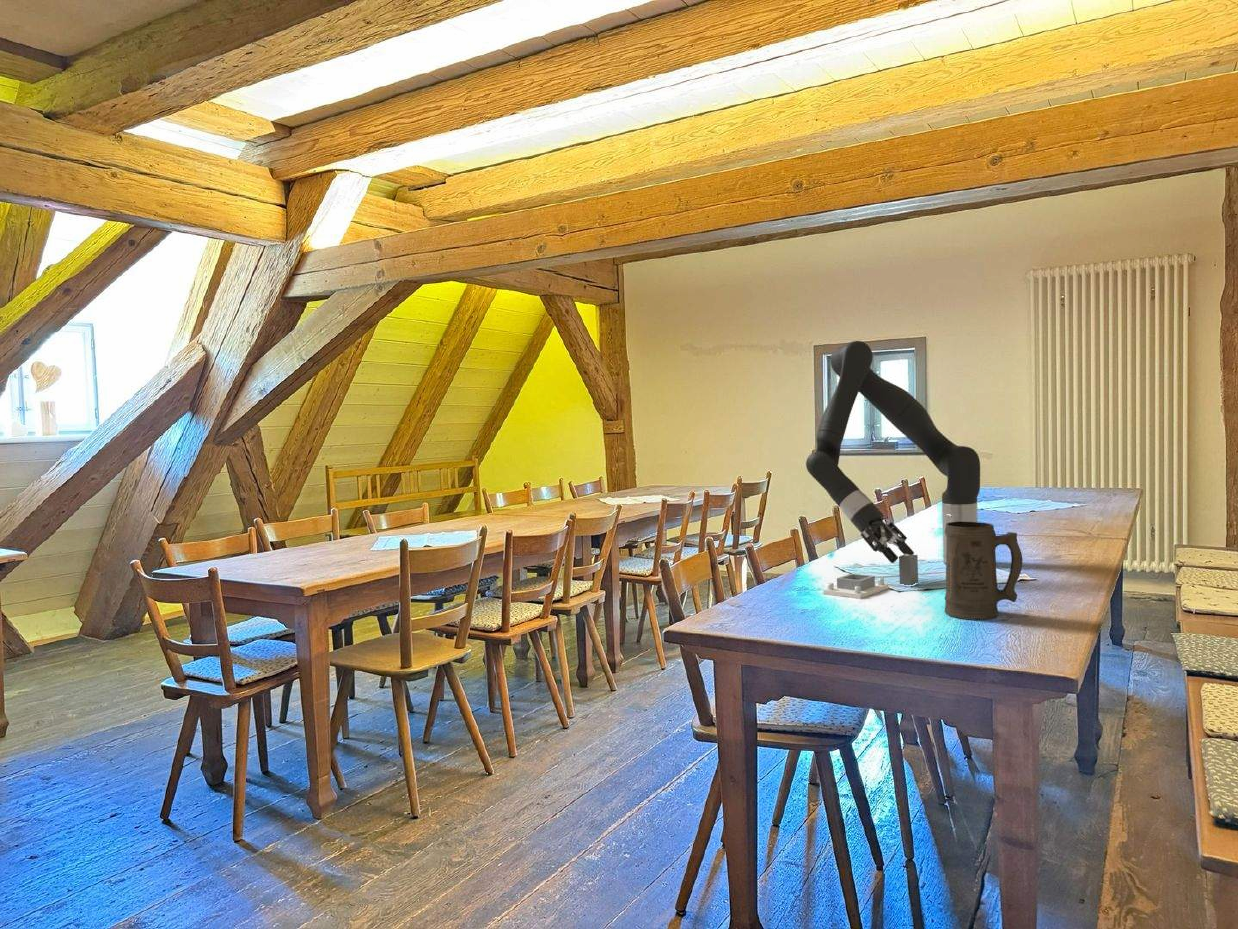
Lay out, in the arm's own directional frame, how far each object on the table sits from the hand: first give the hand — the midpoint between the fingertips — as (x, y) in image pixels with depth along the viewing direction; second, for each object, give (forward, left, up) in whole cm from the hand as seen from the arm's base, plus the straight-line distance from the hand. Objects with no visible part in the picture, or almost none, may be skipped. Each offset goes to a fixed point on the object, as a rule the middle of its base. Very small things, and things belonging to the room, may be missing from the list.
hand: (903, 558), depth 213 cm
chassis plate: (+12, +9, -7) cm, 16 cm away
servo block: (-1, +1, -7) cm, 7 cm away
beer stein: (-14, +31, -7) cm, 34 cm away
